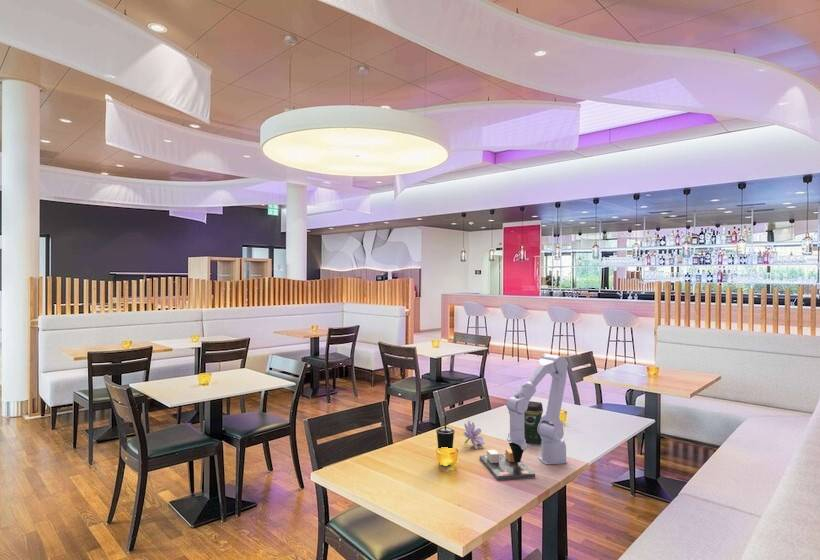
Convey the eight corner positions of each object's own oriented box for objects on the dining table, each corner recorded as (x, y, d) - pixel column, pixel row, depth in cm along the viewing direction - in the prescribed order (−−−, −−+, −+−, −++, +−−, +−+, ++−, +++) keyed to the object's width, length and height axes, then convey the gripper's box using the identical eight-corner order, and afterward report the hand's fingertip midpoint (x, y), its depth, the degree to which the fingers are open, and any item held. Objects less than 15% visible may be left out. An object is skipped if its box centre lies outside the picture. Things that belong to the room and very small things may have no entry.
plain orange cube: (513, 456, 199) (513, 448, 199) (518, 461, 194) (517, 452, 194) (505, 457, 199) (505, 449, 199) (509, 461, 194) (509, 453, 194)
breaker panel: (513, 456, 204) (513, 453, 204) (535, 477, 182) (535, 473, 182) (479, 459, 201) (479, 455, 201) (497, 480, 180) (497, 475, 180)
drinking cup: (449, 469, 191) (449, 418, 191) (432, 465, 195) (432, 416, 195) (457, 463, 197) (457, 414, 197) (441, 459, 201) (441, 411, 201)
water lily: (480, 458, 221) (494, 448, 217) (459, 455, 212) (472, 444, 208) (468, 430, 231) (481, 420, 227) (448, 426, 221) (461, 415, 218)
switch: (495, 458, 198) (495, 449, 198) (499, 462, 193) (499, 453, 193) (487, 458, 197) (486, 450, 197) (490, 463, 192) (490, 454, 192)
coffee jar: (545, 440, 225) (544, 401, 225) (540, 445, 218) (540, 404, 218) (524, 437, 230) (524, 398, 230) (519, 442, 223) (519, 402, 223)
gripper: (501, 422, 197) (501, 455, 197) (514, 433, 183) (514, 469, 183) (517, 421, 198) (517, 454, 198) (531, 432, 184) (532, 468, 184)
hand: (517, 461), depth 190 cm, fingers closed
